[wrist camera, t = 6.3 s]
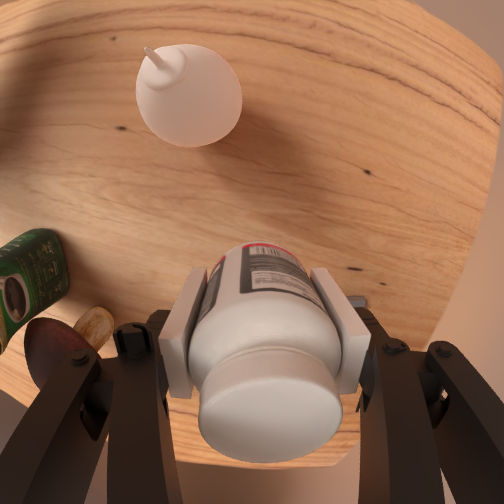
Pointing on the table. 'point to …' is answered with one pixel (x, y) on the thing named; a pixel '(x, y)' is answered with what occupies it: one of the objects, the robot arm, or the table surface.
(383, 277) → the table surface
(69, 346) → the decorative mushroom
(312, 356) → the pill bottle
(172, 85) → the sauce bottle
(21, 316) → the coffee jar
